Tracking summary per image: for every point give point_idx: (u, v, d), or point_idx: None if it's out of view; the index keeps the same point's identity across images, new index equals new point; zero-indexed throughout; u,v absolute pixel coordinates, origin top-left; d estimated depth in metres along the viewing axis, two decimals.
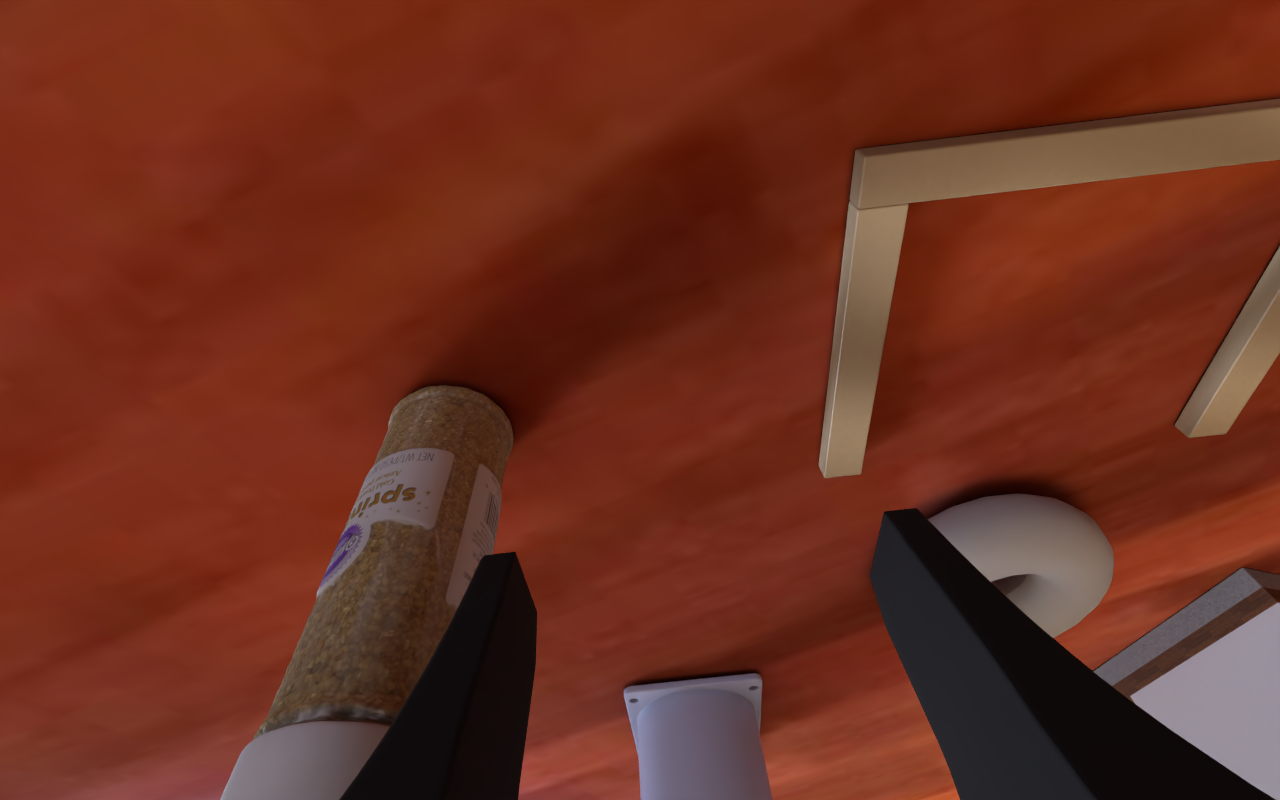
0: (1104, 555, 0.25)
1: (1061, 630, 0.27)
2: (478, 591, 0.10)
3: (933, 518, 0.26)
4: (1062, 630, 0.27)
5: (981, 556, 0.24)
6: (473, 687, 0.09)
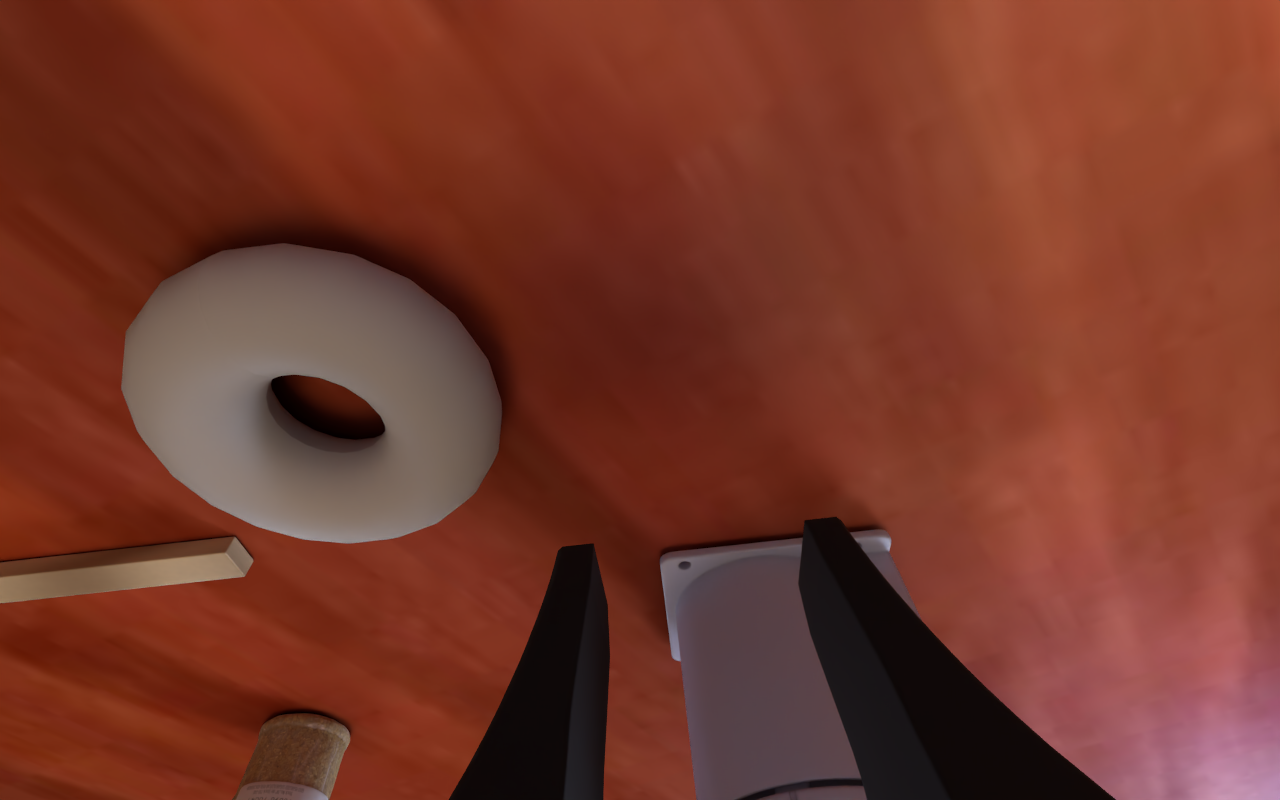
0: (135, 351, 0.14)
1: (333, 350, 0.14)
2: (563, 582, 0.10)
3: None
4: (333, 348, 0.14)
5: (213, 505, 0.18)
6: (575, 677, 0.09)
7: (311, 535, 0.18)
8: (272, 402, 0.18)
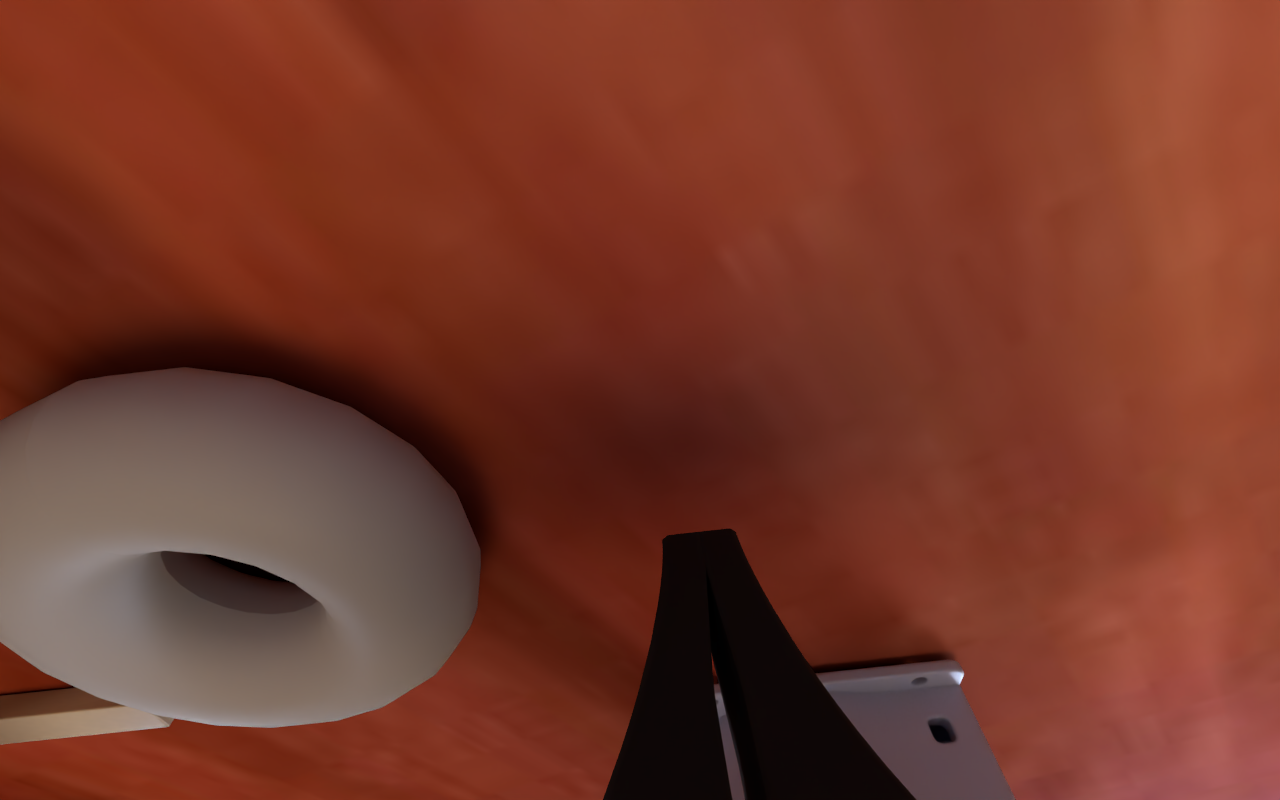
0: None
1: (229, 532, 0.10)
2: (678, 570, 0.10)
3: None
4: (228, 530, 0.10)
5: None
6: None
7: (230, 724, 0.14)
8: (174, 556, 0.13)
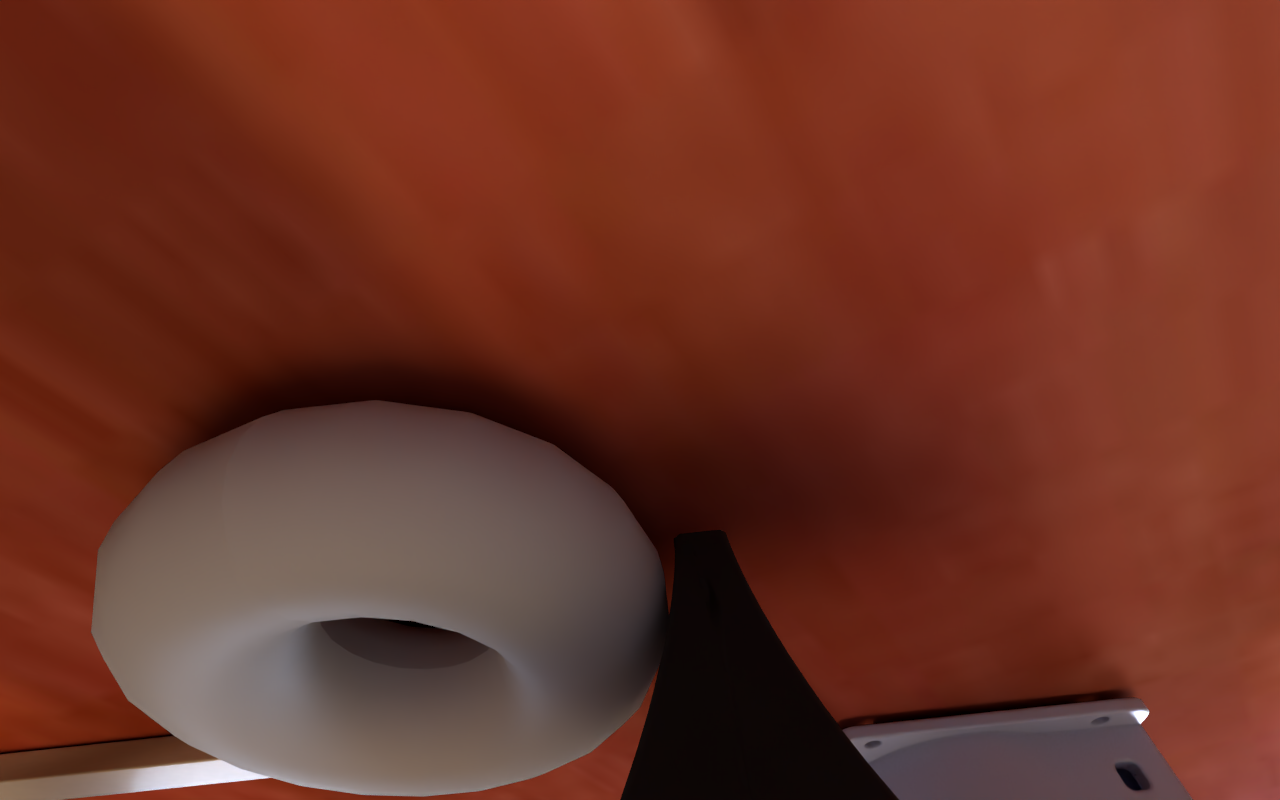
0: (111, 596, 0.09)
1: (452, 601, 0.08)
2: (690, 568, 0.10)
3: None
4: (452, 598, 0.08)
5: None
6: (727, 660, 0.09)
7: (379, 794, 0.12)
8: None
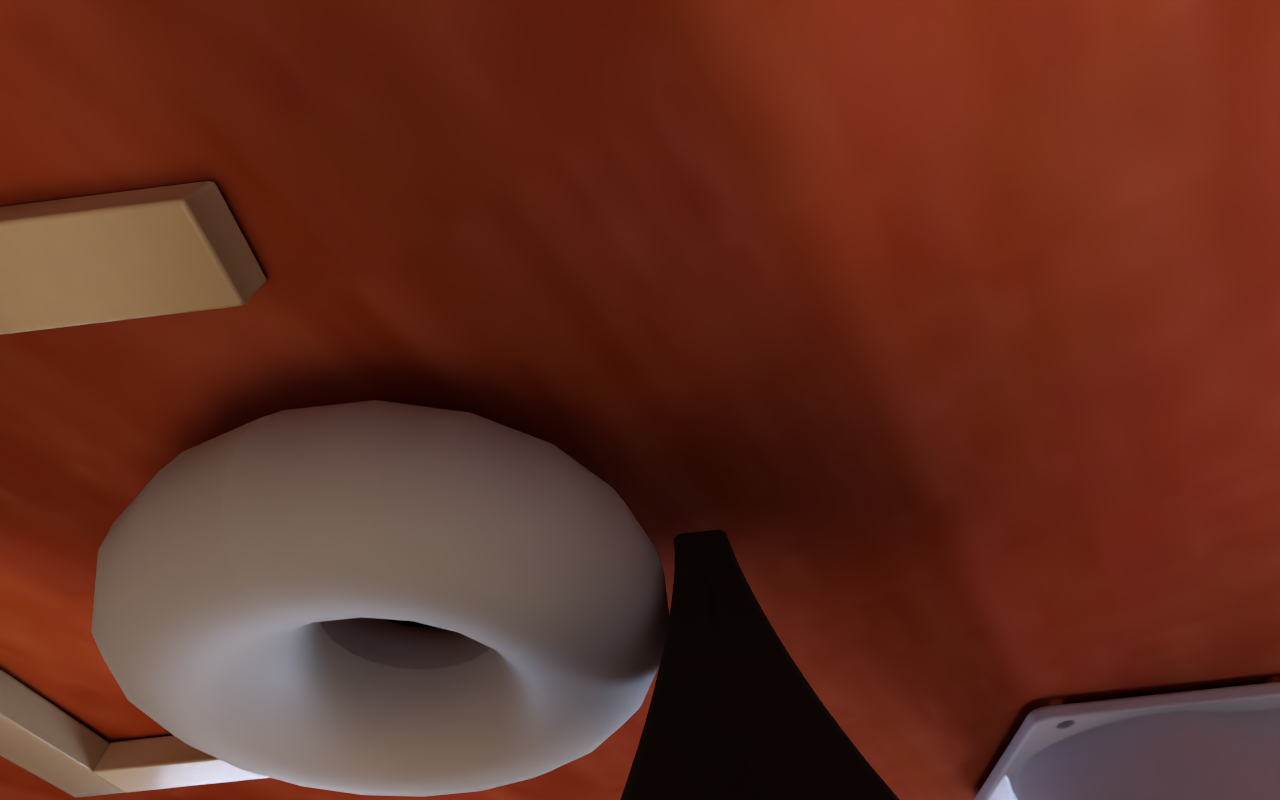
0: (111, 596, 0.09)
1: (452, 601, 0.08)
2: (691, 568, 0.10)
3: None
4: (452, 599, 0.08)
5: None
6: (727, 660, 0.09)
7: (379, 794, 0.12)
8: None
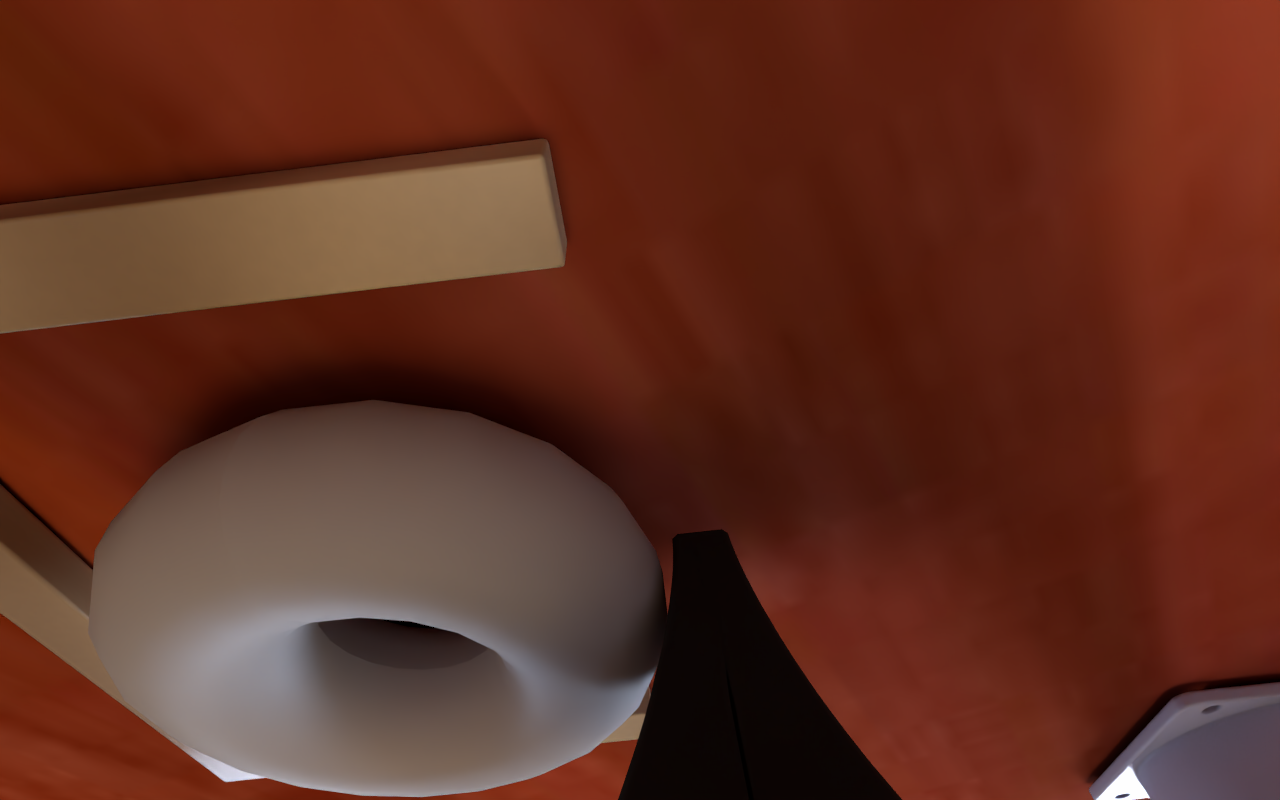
0: (108, 596, 0.08)
1: (450, 601, 0.08)
2: (689, 568, 0.10)
3: None
4: (450, 599, 0.08)
5: None
6: (725, 661, 0.09)
7: (377, 795, 0.12)
8: None
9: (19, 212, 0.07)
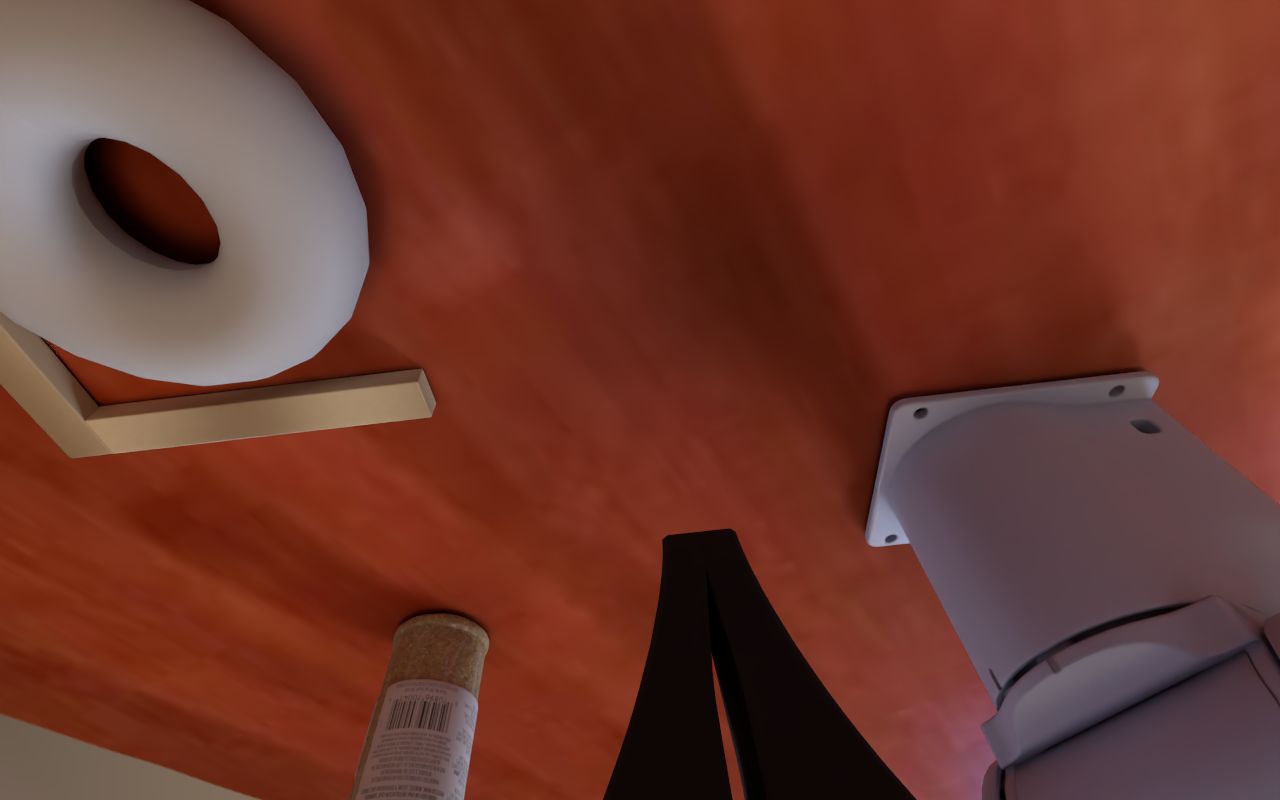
0: None
1: (112, 78, 0.11)
2: (678, 570, 0.10)
3: None
4: (111, 75, 0.11)
5: (17, 323, 0.15)
6: None
7: (140, 366, 0.15)
8: (87, 199, 0.15)
9: None
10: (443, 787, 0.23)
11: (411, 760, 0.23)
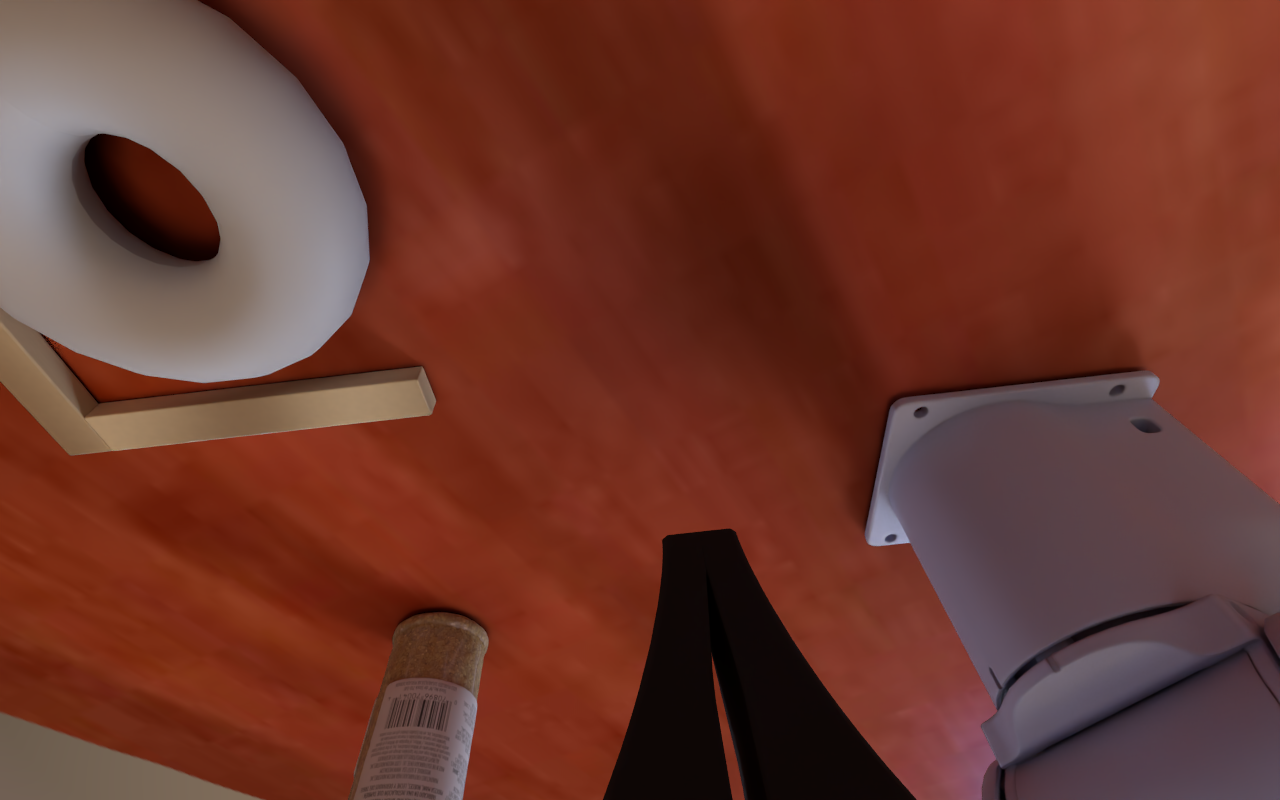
0: None
1: (112, 74, 0.11)
2: (678, 569, 0.10)
3: None
4: (111, 71, 0.11)
5: (17, 319, 0.15)
6: None
7: (140, 362, 0.15)
8: (87, 196, 0.15)
9: None
10: (442, 786, 0.23)
11: (409, 758, 0.23)
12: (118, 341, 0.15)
